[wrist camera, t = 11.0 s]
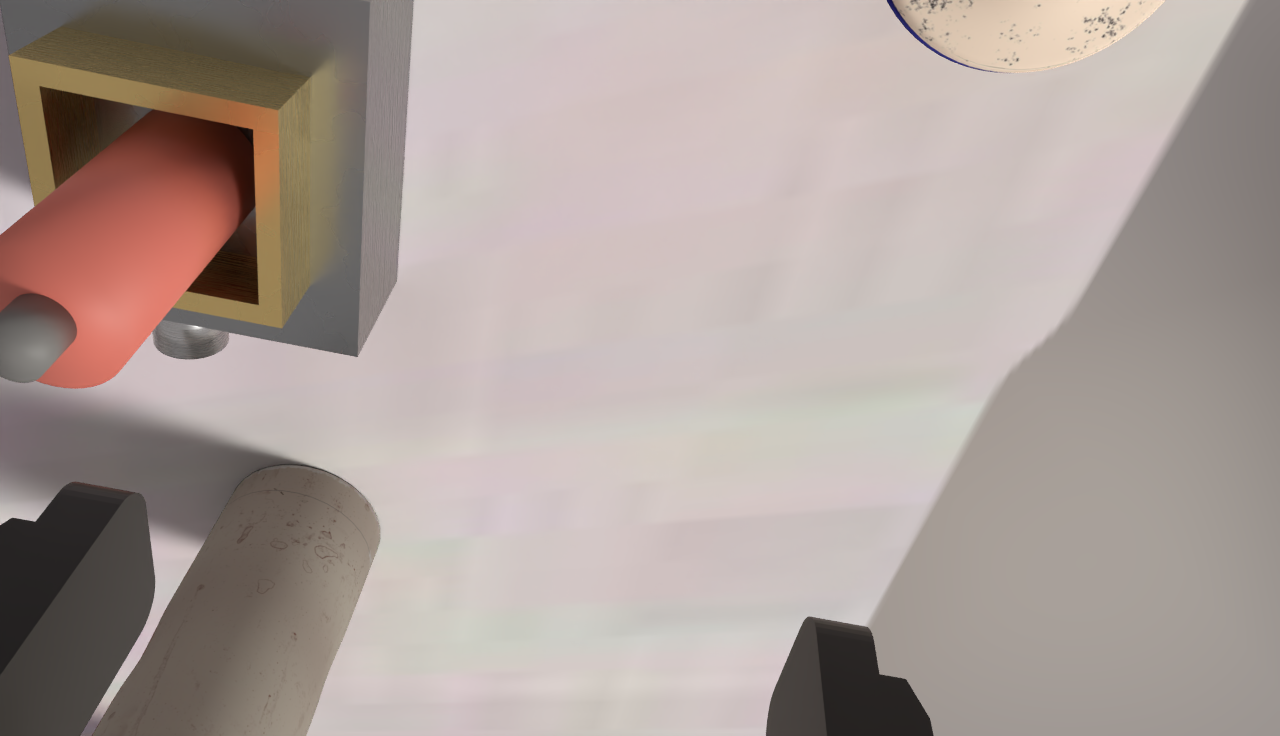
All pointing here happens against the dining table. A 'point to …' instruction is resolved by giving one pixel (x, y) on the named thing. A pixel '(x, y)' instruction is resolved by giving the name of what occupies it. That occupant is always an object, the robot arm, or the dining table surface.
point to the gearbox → (272, 122)
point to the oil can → (118, 247)
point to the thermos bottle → (255, 613)
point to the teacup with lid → (1020, 29)
